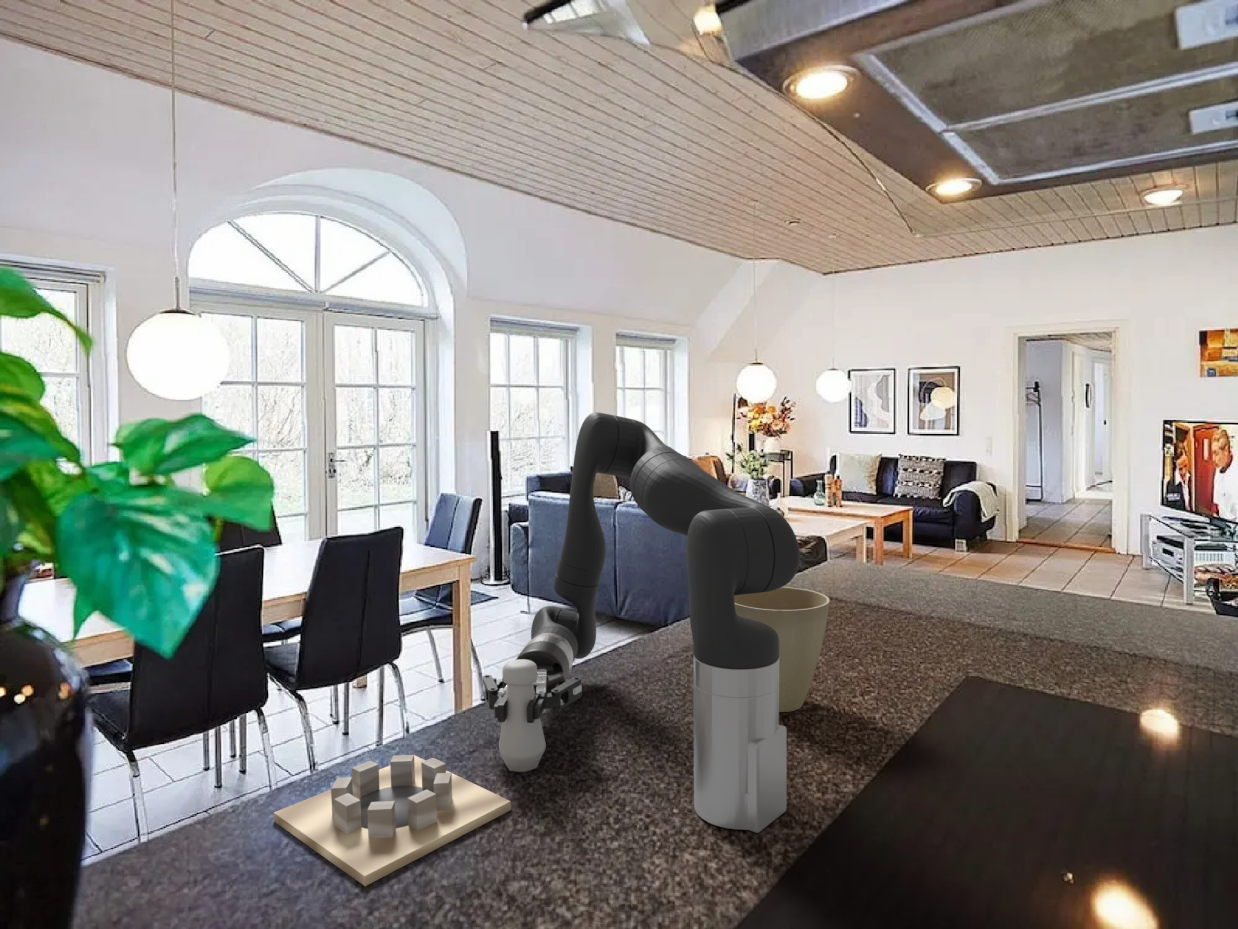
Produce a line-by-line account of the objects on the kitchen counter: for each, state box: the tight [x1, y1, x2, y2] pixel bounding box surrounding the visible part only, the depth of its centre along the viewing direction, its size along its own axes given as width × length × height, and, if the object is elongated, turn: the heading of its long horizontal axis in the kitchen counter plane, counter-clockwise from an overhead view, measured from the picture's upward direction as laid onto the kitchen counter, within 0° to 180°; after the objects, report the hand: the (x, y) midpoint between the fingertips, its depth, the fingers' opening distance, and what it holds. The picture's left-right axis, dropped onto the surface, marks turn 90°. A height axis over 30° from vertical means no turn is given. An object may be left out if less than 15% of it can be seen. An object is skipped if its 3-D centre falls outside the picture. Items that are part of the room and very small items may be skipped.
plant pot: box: [734, 586, 831, 713], centre depth 117 cm, size 15×15×16 cm
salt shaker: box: [498, 659, 547, 773], centre depth 98 cm, size 6×6×13 cm
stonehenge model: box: [273, 754, 512, 887], centre depth 87 cm, size 18×18×4 cm
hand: (515, 714), depth 95 cm, fingers closed on salt shaker, 3 cm apart
